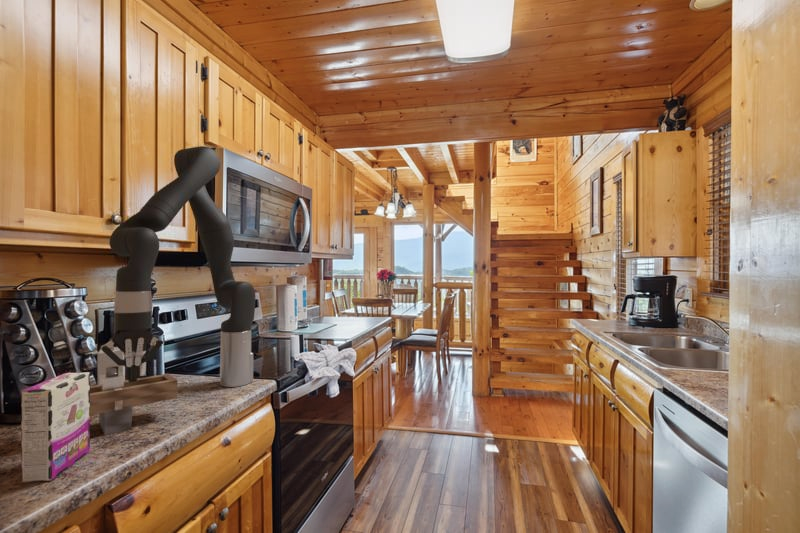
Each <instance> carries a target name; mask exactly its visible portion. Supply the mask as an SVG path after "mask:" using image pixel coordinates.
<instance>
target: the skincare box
mask: <svg viewBox="0 0 800 533" xmlns="http://www.w3.org/2000/svg"><path fill="white" fill-rule="evenodd" d="M113 347H114V350H113V352H114V353H115V354H116V355H117V356H118V357H119V358H120V359H123V360H124V355H123V352H122V351H121V350H120V349H119V348H118V347H117V346H113ZM109 366H119V365H117V364H116V363H115V362H114V361H113V360H112V359H111V358H110V357H109V356H108V355H106V354H105V353H104V352H103V351H102V350H101V349H98V352H97V385H100V375H106V367H109ZM120 372H121V373H122V374H123V375H124V381H126V378H125V366H119V369H118V373H120Z"/></svg>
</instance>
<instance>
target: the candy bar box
mask: <svg viewBox="0 0 800 533" xmlns="http://www.w3.org/2000/svg"><path fill="white" fill-rule="evenodd" d="M90 374H91V372H89V371H87V372H85V371H84V372H66V373H65V372H64V373H62V374H59V375H57V376H55V377H52V378H50V379H47V380H45V381H42V382H40V383H37V384H35V385H33V386H30V387H27V388H25V389H23V390H21V392H20V394H21V395H20V399H21V400H20V401H21V402H20V403H21V404H20V406H21V408H20V410H21V415H20V416H21V419H20V420H21V422H20V423H21V424H20V425H21V442H20V446H21V483H24V484H26V483H40V482H49V481H50V482H51V481H52V480H54V479H56V477H58V476H59V475H61V474H62V473H63V472H64V471H66V470H68V469H69V467H71V466H72V465H74V464H75V463H76V462H77V461H79V460H80V459H82V457H84V456H86V454H87V455H88V454H89V452H90V451H91V449H90V448H91V447H90V446H91V441H90V440H91V438H90V434H91V432H90V430H91V429H90V427H91V426H90V425H91V424H90V423H91V422H90V420H91V418H90V416H91V415H90V411H89V410H90V386H91V385H90V384H91V383H90V381H91V380H90V376H91V375H90Z"/></svg>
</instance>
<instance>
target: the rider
mask: <svg viewBox="0 0 800 533" xmlns="http://www.w3.org/2000/svg"><path fill="white" fill-rule="evenodd" d="M118 369H119V366H109V367H106V375H100V392H102V391H108V390H114V389H117V388H124V375H123V374H122V373H121V372H120V373H118Z"/></svg>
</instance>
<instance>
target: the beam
mask: <svg viewBox="0 0 800 533" xmlns="http://www.w3.org/2000/svg"><path fill="white" fill-rule="evenodd" d="M177 398H178V379H177V378H175V377H174V376H172V375H171V374H170V373H165V374H158V375H152V376H146V377H139V378H138V379H137V381H135V382H129V381H128V380H126V379H125V381H124V388H117V389H114V390H108V391H102V392H100V385H98V384H96V385H90V410H89V411H90V416H93V415H98V414H99V415H98V424H99V426H100V428H101V431H102V432H103V435H104V436H108V435H112V434H117V433H121V432H125V431H129V430H132V428H133V427H132V426H133V408H134V407H137V406H138V407H139V406H142V405H143V406H144V405H148V404H153V403H159V402H164V401H168V400H172V399H177Z"/></svg>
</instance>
